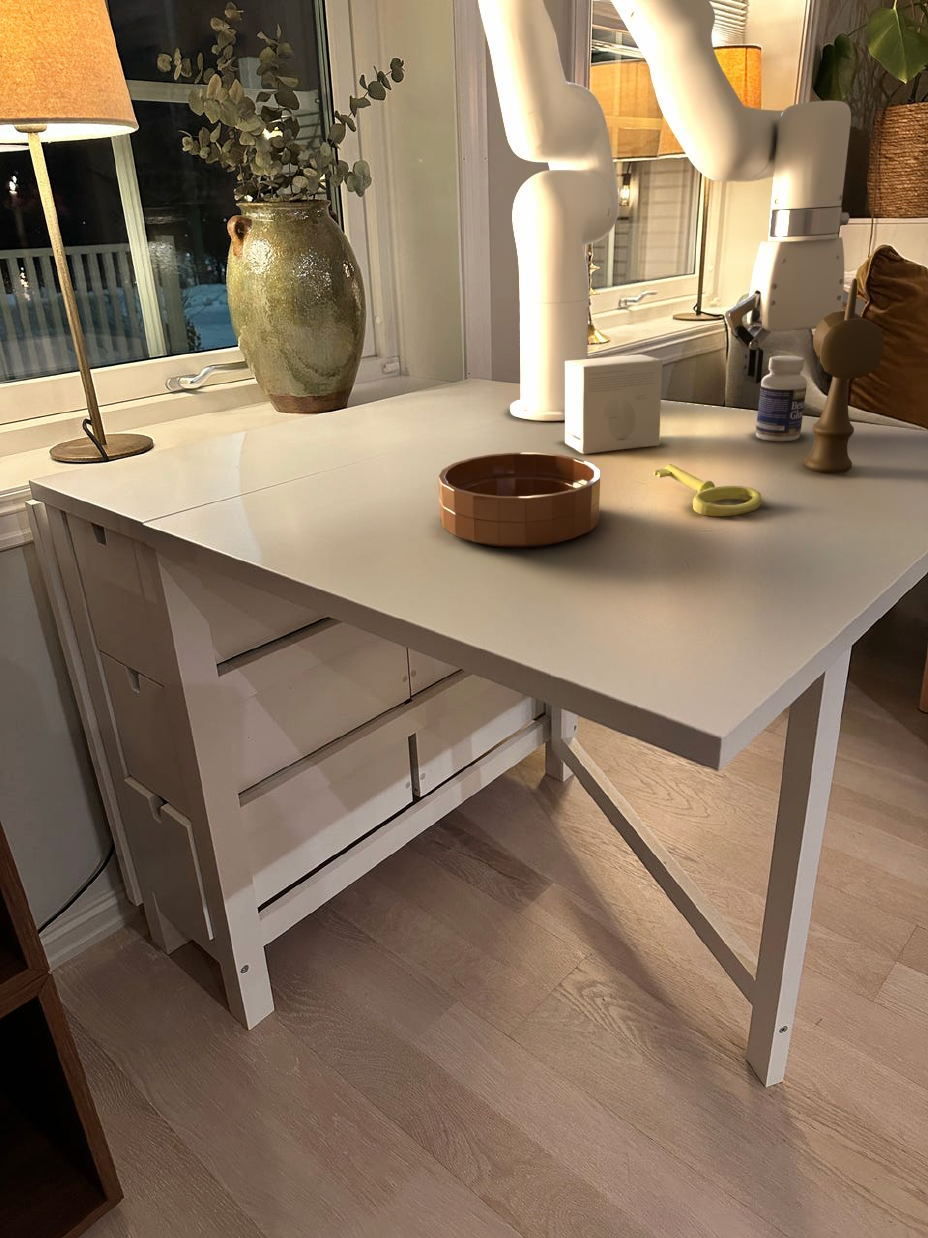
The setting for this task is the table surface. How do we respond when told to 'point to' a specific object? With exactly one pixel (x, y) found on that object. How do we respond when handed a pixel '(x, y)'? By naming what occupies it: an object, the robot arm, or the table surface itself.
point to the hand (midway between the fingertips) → (789, 378)
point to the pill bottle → (782, 400)
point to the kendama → (841, 380)
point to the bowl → (519, 499)
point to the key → (713, 494)
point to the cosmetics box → (612, 403)
